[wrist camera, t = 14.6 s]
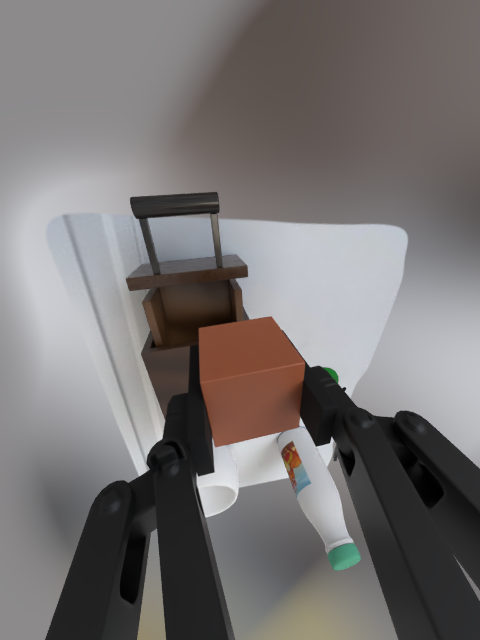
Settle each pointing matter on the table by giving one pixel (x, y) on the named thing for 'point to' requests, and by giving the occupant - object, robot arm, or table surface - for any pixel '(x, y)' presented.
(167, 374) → the cabinet
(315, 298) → the table surface
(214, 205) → the drawer
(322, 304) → the table surface
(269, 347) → the block
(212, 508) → the cup
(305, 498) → the milk bottle
